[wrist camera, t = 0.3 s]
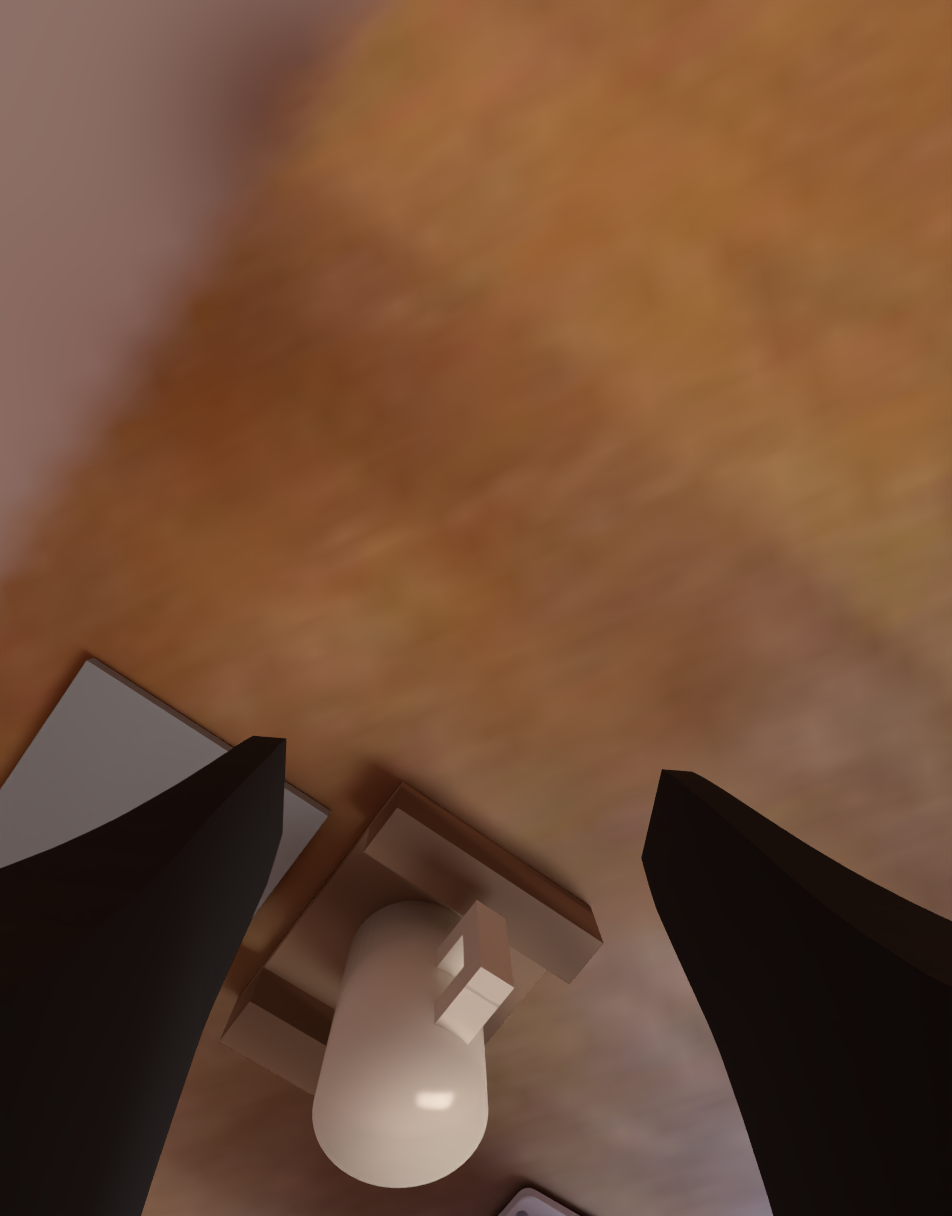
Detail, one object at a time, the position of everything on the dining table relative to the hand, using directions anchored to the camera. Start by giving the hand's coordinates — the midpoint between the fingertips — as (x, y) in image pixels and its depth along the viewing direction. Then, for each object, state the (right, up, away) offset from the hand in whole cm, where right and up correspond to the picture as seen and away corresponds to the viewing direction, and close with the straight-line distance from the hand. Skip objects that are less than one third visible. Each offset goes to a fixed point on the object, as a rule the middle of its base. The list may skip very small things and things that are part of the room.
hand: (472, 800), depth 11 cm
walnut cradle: (-2, -10, +12) cm, 16 cm away
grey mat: (-12, -5, +11) cm, 17 cm away
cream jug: (-2, -9, +12) cm, 15 cm away
